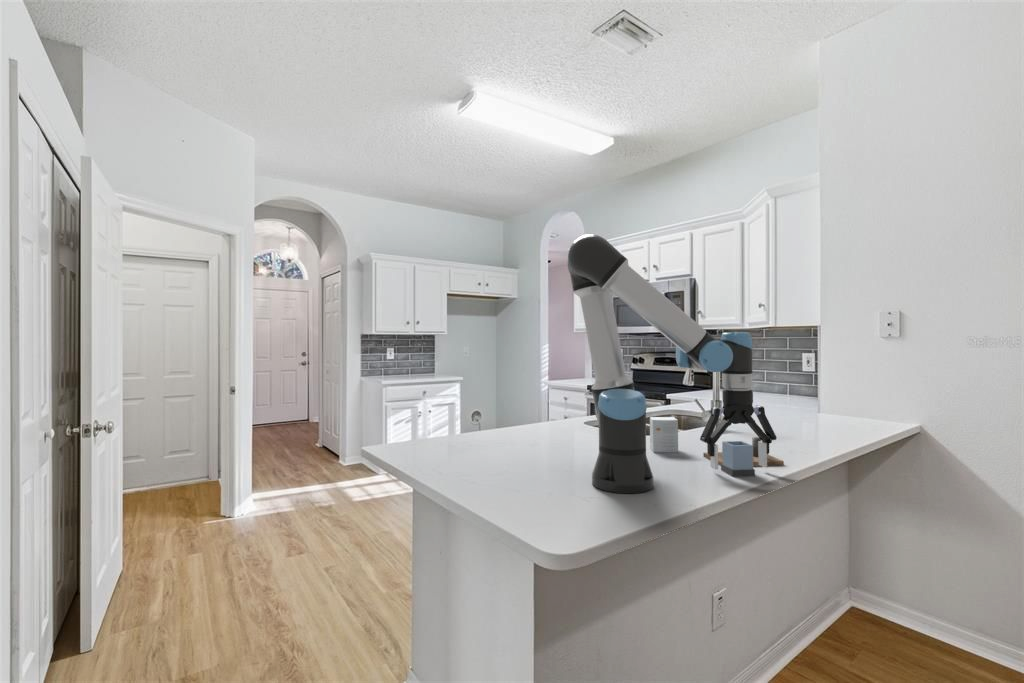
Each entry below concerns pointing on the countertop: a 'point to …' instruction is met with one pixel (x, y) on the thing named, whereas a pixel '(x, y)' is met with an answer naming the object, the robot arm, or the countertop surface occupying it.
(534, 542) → the countertop surface
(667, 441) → the small box
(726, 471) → the sleeve
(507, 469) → the countertop surface
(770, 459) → the pin board
